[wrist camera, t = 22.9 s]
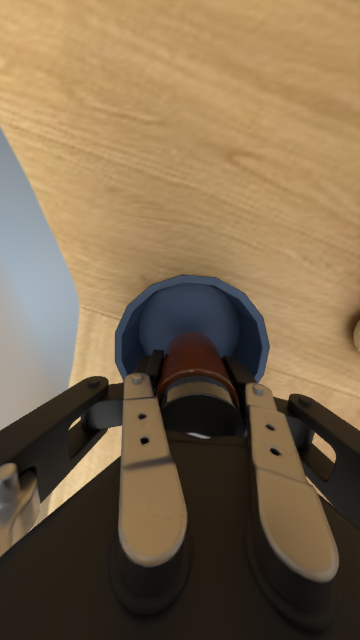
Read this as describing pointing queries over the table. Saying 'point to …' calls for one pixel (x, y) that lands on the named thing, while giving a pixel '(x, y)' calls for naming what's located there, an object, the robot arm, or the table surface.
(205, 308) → the blue round pot
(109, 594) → the robot arm
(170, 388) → the spice bottle
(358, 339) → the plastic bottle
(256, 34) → the table surface
